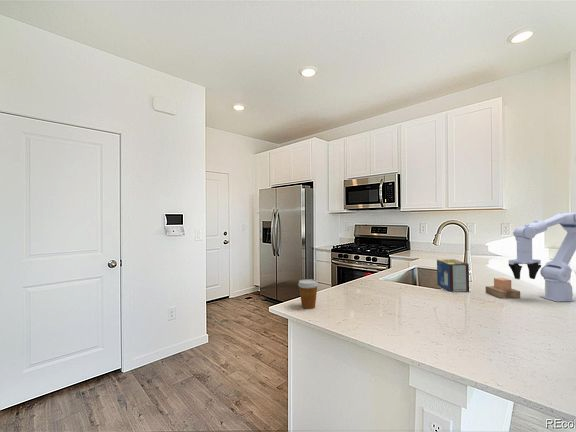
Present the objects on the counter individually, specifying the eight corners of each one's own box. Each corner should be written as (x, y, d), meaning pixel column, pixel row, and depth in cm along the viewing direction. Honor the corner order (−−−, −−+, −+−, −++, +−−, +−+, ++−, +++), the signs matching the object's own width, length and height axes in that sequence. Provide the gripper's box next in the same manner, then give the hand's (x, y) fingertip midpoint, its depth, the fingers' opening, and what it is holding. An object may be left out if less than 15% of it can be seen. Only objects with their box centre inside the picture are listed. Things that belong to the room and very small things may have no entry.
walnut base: (504, 293, 145) (504, 286, 145) (520, 299, 135) (520, 291, 135) (485, 293, 145) (485, 286, 145) (499, 299, 135) (499, 291, 135)
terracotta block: (502, 287, 142) (502, 277, 142) (511, 289, 137) (511, 280, 137) (494, 287, 142) (493, 278, 142) (502, 290, 137) (502, 280, 137)
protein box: (455, 285, 162) (454, 259, 162) (469, 292, 147) (469, 263, 147) (436, 284, 163) (436, 259, 163) (449, 292, 148) (449, 263, 148)
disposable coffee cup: (295, 308, 125) (294, 282, 125) (303, 302, 134) (303, 278, 134) (314, 311, 121) (313, 284, 121) (321, 305, 129) (321, 280, 129)
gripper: (517, 252, 128) (517, 281, 128) (546, 251, 128) (547, 280, 128) (504, 250, 135) (505, 277, 135) (532, 250, 135) (533, 277, 135)
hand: (524, 278), depth 132 cm, fingers open, 7 cm apart
